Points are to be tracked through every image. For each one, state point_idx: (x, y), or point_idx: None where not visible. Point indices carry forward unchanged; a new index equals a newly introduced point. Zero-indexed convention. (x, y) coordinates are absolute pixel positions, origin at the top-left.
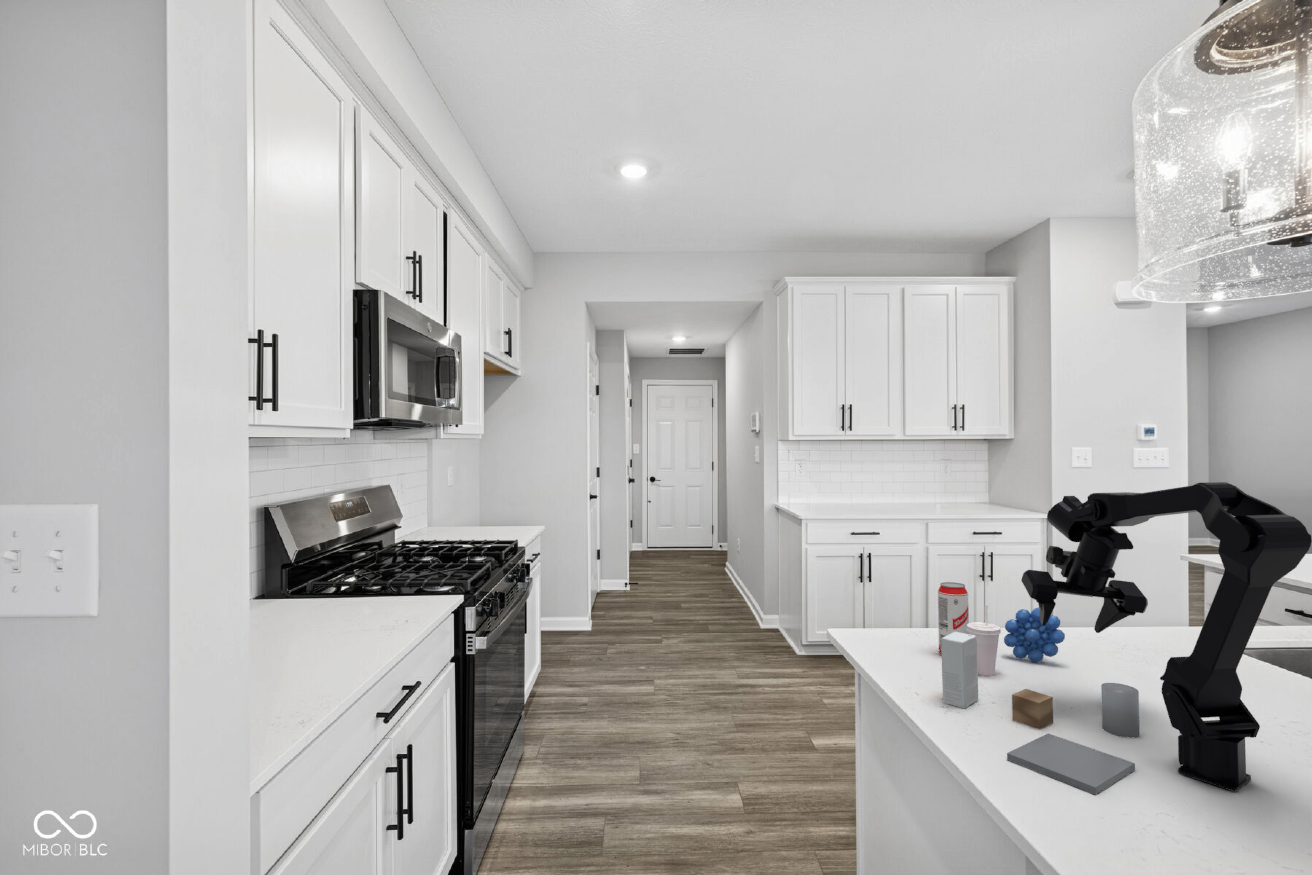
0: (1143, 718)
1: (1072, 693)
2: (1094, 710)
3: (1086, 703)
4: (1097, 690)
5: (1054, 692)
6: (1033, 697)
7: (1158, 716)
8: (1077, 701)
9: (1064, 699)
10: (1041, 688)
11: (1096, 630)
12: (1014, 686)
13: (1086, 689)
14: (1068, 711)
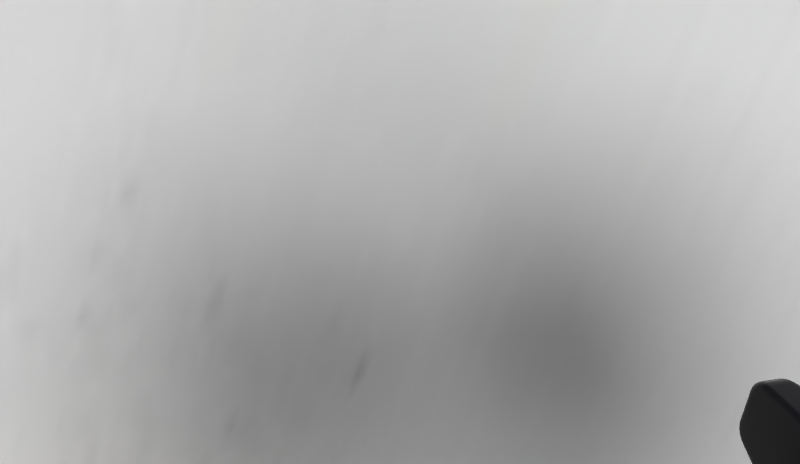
0: (671, 437)
1: (447, 129)
2: (469, 380)
3: (467, 283)
4: (620, 39)
5: (345, 134)
6: None
7: None
8: (428, 261)
9: (365, 244)
10: (287, 75)
11: (754, 440)
12: (127, 72)
13: (560, 34)
14: (327, 424)
